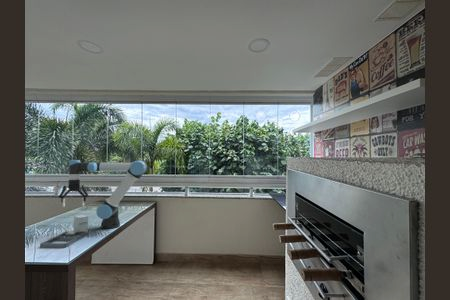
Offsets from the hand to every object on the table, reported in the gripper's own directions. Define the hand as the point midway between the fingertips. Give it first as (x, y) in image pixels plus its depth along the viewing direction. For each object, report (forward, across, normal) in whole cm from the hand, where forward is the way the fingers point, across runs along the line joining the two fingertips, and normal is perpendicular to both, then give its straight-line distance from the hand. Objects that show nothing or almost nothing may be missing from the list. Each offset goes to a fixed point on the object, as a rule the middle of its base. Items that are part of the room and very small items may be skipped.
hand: (73, 206), depth 186 cm
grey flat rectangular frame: (+20, -3, +22) cm, 30 cm away
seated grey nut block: (+20, -4, +16) cm, 26 cm away
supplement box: (+20, -6, +2) cm, 21 cm away
